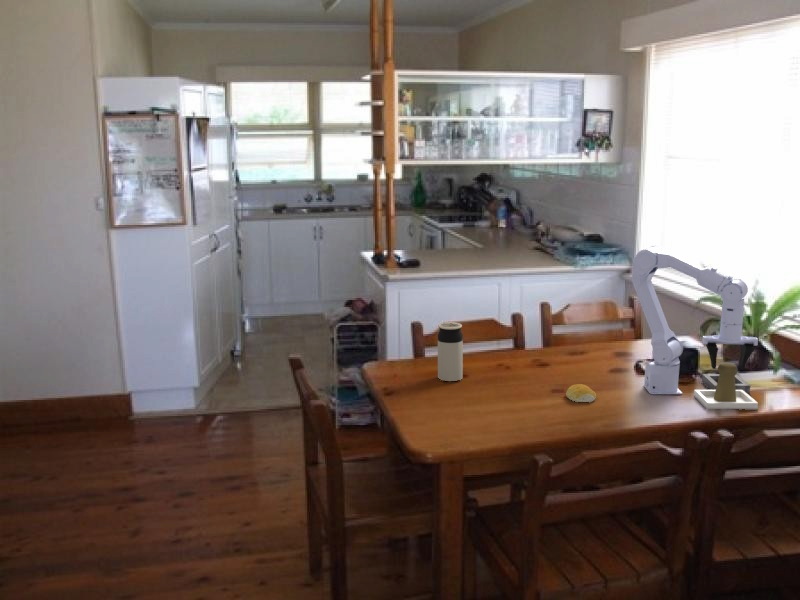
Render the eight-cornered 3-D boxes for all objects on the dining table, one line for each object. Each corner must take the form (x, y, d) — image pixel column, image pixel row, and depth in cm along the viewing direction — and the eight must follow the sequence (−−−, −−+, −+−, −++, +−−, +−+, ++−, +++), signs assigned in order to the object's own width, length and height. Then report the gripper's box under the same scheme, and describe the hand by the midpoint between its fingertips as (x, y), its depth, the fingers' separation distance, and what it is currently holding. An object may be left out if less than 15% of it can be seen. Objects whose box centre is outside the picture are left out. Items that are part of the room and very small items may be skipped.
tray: (707, 409, 213) (707, 403, 212) (693, 396, 223) (694, 389, 223) (757, 409, 212) (758, 403, 212) (741, 396, 223) (742, 389, 222)
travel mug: (459, 384, 237) (459, 329, 233) (434, 381, 239) (434, 327, 235) (465, 376, 244) (465, 322, 240) (441, 373, 247) (441, 321, 243)
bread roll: (587, 392, 228) (588, 379, 228) (599, 402, 220) (599, 389, 219) (561, 393, 227) (562, 381, 227) (572, 404, 219) (572, 391, 218)
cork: (737, 404, 215) (740, 367, 212) (714, 402, 217) (717, 365, 214) (735, 397, 221) (738, 361, 218) (713, 395, 222) (716, 359, 220)
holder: (714, 393, 225) (714, 385, 225) (701, 381, 235) (702, 374, 235) (749, 393, 225) (750, 385, 224) (735, 381, 235) (736, 374, 234)
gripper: (754, 319, 215) (749, 364, 218) (701, 318, 217) (697, 363, 220) (762, 325, 209) (757, 372, 212) (707, 324, 211) (703, 370, 214)
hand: (727, 368), depth 216 cm, fingers open, 7 cm apart
